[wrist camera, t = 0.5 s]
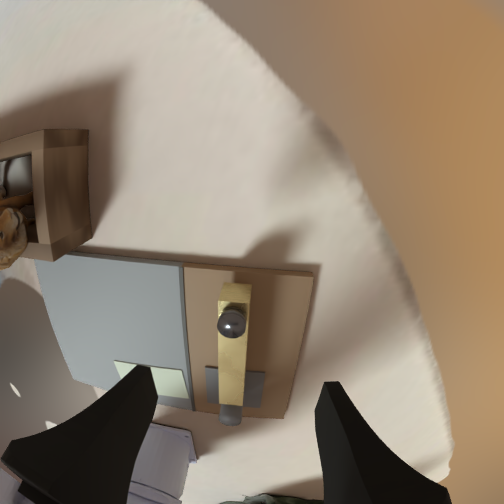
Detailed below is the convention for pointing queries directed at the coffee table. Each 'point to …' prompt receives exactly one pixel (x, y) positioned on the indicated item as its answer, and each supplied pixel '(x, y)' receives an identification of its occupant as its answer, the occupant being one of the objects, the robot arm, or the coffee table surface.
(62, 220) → the display tray
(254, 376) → the door board
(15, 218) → the lion figurine
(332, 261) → the coffee table surface
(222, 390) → the latch bar
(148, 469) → the robot arm
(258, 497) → the rose bouquet
